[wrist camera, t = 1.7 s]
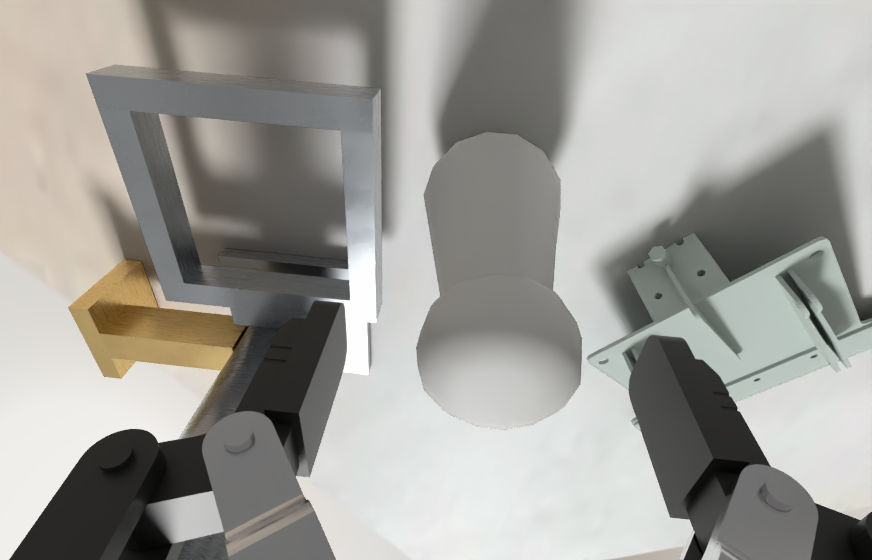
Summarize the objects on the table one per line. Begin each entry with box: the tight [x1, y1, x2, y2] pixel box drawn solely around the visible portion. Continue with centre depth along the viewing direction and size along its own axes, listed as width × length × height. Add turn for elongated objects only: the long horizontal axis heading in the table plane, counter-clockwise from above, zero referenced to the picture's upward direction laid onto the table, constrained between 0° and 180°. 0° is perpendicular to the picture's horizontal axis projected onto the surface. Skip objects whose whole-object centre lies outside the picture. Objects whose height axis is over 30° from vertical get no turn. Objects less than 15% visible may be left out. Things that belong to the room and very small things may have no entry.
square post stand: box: [68, 65, 382, 560], centre depth 16 cm, size 15×18×22 cm
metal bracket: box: [587, 232, 872, 431], centre depth 25 cm, size 14×6×15 cm
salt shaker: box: [416, 132, 582, 430], centre depth 17 cm, size 6×6×13 cm
